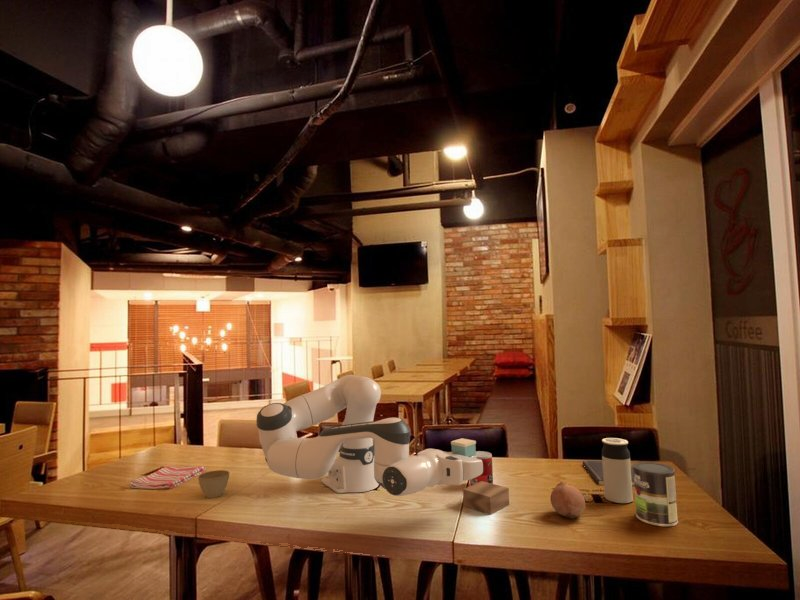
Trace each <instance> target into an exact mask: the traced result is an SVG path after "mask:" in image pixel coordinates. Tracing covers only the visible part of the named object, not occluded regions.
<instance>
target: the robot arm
mask: <svg viewBox="0 0 800 600" xmlns="http://www.w3.org/2000/svg"><path fill="white" fill-rule="evenodd" d="M381 396H382V390H381V386H380V385H379V384H378V383H377V382H376V381H375V380H374V379H372V378H370V377H367V376H364V375H363V376H362V375H357V374H347V375H344V376H340V378H337V379H336V380H334V381H331V382H329V383H328V384H326V385H325V386H322V387H320V388H316V389H314V390H311V391H309V392H306V393H303V394H300V395H299V396H296V397H293V398H292V399H289V400H287V401H286V402H284V403H281V402H273V403H269V404H267V405H264V406H263V407H262V408H261V409H260V410H259V411H258V412H257V413H256V422H255V423H256V426H257V433H258V440H259V444H260V445H261V449H262V452H263V454H264V456H265V462H266V465H267V466H268V469H269V470H270V471H271V472H273V473H276V474H278V475H281V476H285V477H289V478H295V479H301V480H303V479H304V480H318V479H321V478H322V479H321V483H322V484H323V485H325V486H327V487H328V488H329V489H331V490H333V491H334V492H335V493H337V494H342V493H363V492H368V491H372V490H374V489H376V488H378V487H379V486H381V487H382V488H383V489H385V491H387V493H389V494H390V495H392V496H393V497H394V496H395V497H402V496H408V495H412V494H416V493H419V492H422V491H424V490H425V489H426V488H431V487H434V486H441V485H442V486H443V485H448V486H449V485H450V486H462V485H463V482H465V481H466V482H467V481H470V480H471V479H473V478H475V477H478V476H480V475H481V474H482V473H483V462H482V460H481V459H477V457H476V456H474V455H470V456H469V457H467V456H463V455H458V454H454V453H452V451H443V450H441V449H436V448H425V449H424V450H421V451H418V452H417V453H416V455H410V443H411V442H410V441H411V433H412V432H411V427H410V426H409V425H408V423H407V422H406V421H405V420H404V419H402V418H401V417H400V418H399V417H387V418H383V419H379V420H378V419H377V420H374V418H375V413H376V408H377V404H379V402H380V399H381V398H382V397H381ZM345 409H346V410H345ZM343 410H345V416H344V420H343V422H342V424H341V425H337V426H331V427H326V428H325V429H323V430H322V431H321V430H320V433H319V435H317V436H315V437H312V438H311V437H310V438H309V437H308V438H307V437H306V438H305V437H298V434H297V433H298V431H302V430H305V429H308V428H310V427H312V426H315V425H318V424H320V423H323V422H326V421H327V420H330V419H333V418H334V417H335V416H336V414H338V413H340V412H341V411H343ZM338 454H339V455H338ZM326 474H327V476H325V475H326Z"/></svg>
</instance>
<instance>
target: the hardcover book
mask: <svg viewBox="0 0 800 600" xmlns="http://www.w3.org/2000/svg"><path fill="white" fill-rule="evenodd" d="M583 465H584V466H585V467H584V466H583ZM582 466H583V467H584V469H585V470H586V469H587V470H586V471H587V472H588V474H589V473H590V474H589V475H590V477H592V479H593V481H595V482H596V484H597V485H598V486H600V485H601V486H604V479H603V463H602V460H583V461H582ZM631 479H632V487H633V486H634V487H635V484H634V470H633V466H631Z"/></svg>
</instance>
